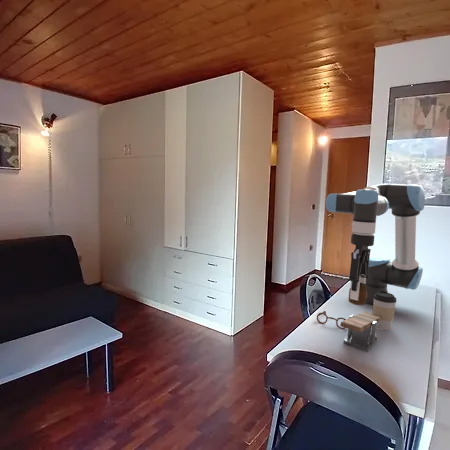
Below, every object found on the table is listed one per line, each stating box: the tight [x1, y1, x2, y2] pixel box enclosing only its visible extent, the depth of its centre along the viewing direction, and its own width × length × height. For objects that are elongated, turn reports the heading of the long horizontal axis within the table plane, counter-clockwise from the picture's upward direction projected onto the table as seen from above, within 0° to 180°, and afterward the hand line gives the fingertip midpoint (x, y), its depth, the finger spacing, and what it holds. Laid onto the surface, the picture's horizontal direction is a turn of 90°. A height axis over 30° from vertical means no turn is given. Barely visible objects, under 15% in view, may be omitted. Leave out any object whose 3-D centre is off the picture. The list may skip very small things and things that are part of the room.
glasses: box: [316, 310, 347, 330], centre depth 147 cm, size 13×13×5 cm
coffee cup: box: [372, 291, 397, 331], centre depth 142 cm, size 9×9×15 cm
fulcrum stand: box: [342, 314, 378, 353], centre depth 127 cm, size 12×9×10 cm
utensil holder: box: [348, 274, 367, 306], centre depth 118 cm, size 6×6×12 cm
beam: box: [339, 311, 382, 332], centre depth 127 cm, size 28×7×2 cm, turn 140°
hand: (357, 297), depth 118 cm, fingers closed on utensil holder, 6 cm apart
